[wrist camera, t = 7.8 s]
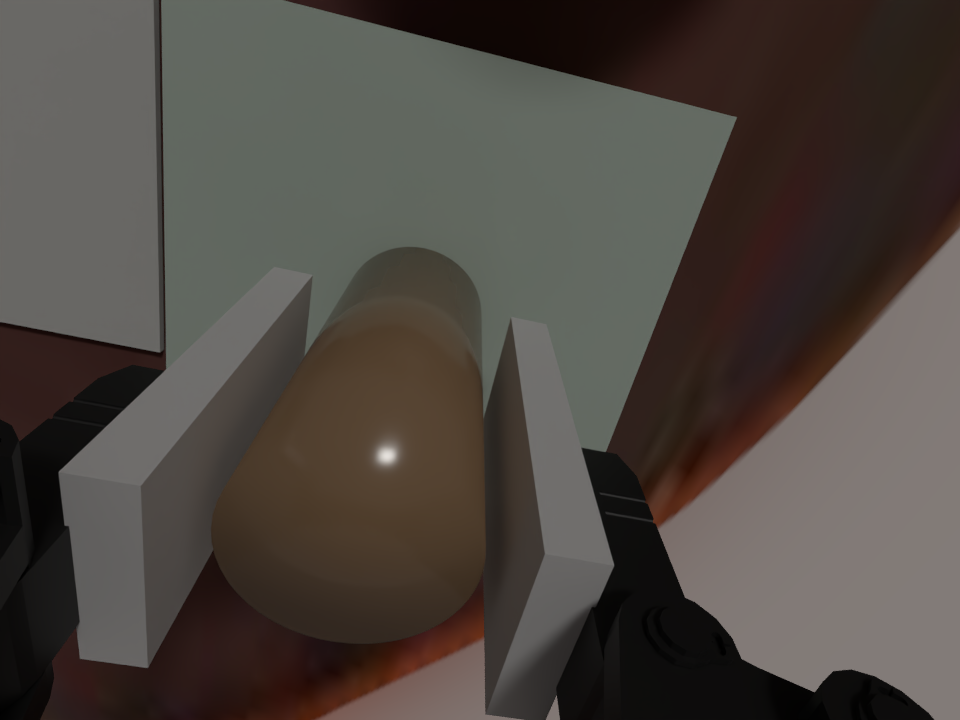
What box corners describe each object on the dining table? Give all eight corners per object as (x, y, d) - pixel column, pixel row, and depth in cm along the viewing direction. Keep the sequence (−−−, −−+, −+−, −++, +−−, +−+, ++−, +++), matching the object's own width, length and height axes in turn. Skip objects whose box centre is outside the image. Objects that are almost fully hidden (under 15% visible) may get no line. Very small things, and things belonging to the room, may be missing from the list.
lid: (186, 439, 17) (-74, 765, 9) (188, -23, 12) (-401, -220, 4) (568, 507, 19) (640, 848, 10) (716, 114, 14) (1092, 176, 5)
